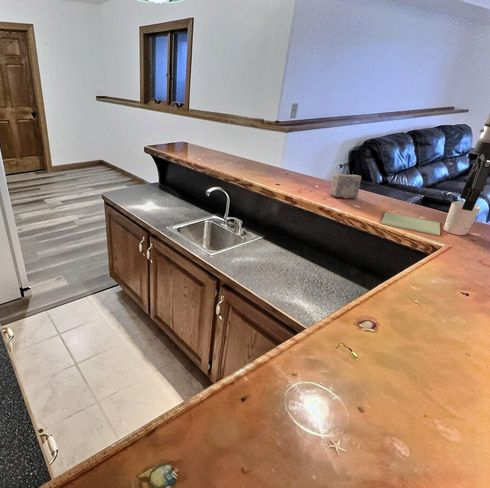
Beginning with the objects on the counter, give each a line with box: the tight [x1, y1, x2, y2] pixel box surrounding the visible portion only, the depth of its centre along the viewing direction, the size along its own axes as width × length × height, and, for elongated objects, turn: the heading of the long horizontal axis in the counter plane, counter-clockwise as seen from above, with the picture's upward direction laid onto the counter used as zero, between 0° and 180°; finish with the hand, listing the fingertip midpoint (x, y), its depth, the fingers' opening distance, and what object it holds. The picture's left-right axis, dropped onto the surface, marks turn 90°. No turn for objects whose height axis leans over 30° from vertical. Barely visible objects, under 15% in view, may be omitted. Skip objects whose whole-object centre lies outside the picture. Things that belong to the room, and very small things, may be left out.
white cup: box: [443, 200, 481, 236], centre depth 123 cm, size 8×8×10 cm
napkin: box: [380, 211, 441, 237], centre depth 131 cm, size 18×14×1 cm
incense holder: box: [329, 172, 362, 200], centre depth 156 cm, size 10×8×10 cm
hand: (465, 204), depth 121 cm, fingers open, 13 cm apart
